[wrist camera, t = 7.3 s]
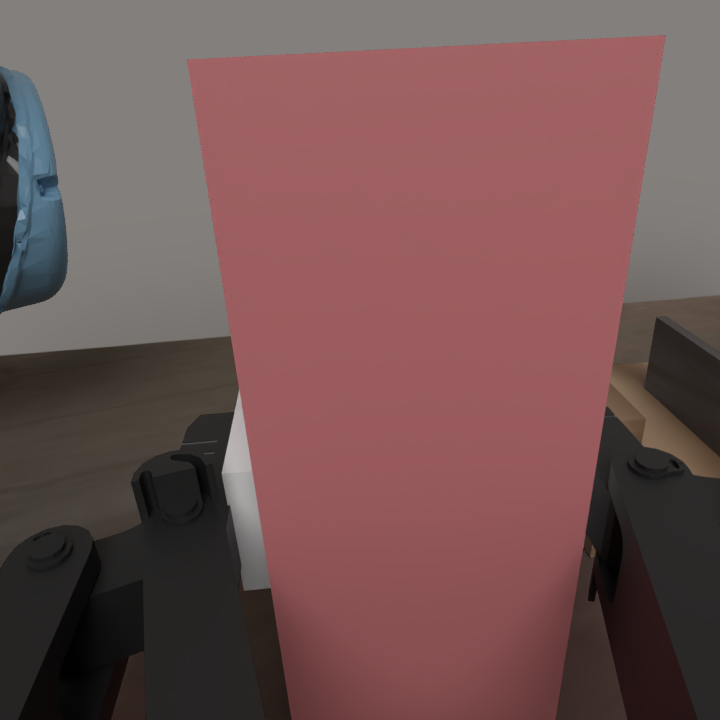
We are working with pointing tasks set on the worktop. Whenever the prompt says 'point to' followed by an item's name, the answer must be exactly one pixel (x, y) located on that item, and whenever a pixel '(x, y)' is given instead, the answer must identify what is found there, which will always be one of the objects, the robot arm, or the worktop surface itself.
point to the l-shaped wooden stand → (672, 400)
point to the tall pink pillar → (425, 351)
